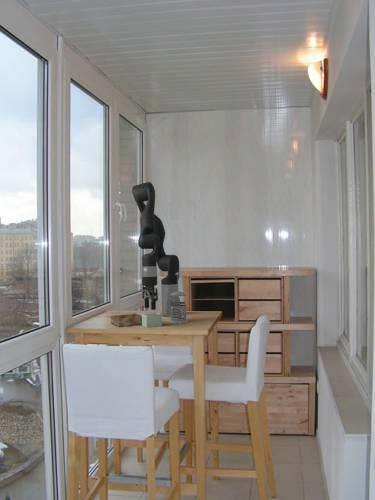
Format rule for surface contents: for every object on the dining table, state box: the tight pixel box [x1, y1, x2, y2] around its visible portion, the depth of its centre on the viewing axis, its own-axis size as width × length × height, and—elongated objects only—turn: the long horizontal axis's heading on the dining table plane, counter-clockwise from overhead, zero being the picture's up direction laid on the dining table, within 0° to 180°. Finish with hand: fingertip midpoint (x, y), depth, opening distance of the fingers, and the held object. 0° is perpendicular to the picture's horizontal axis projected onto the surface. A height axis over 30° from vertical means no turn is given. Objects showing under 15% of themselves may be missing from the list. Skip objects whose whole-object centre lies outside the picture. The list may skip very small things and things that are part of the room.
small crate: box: [141, 312, 163, 329], centre depth 266 cm, size 8×6×6 cm
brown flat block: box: [110, 313, 142, 328], centre depth 274 cm, size 13×12×4 cm
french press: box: [165, 272, 189, 324], centre depth 278 cm, size 10×12×25 cm
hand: (150, 308), depth 266 cm, fingers open, 8 cm apart
